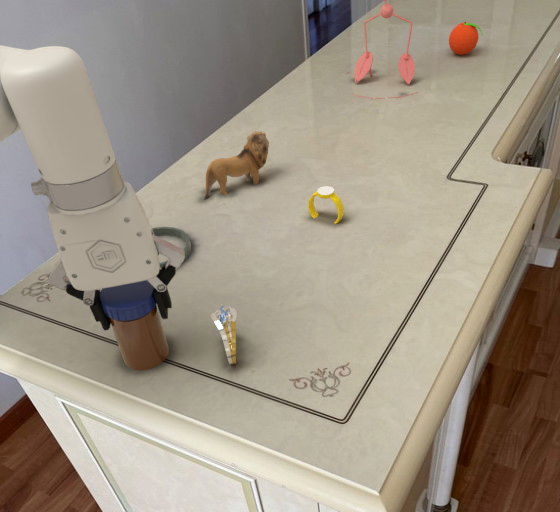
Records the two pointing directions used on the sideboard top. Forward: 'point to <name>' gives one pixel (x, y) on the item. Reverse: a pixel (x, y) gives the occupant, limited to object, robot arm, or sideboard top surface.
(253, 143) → the lion figurine
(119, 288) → the lid
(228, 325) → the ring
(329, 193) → the watch
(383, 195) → the sideboard top surface
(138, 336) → the jar
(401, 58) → the balance scale
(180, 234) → the grey-green bangle
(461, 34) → the clementine
